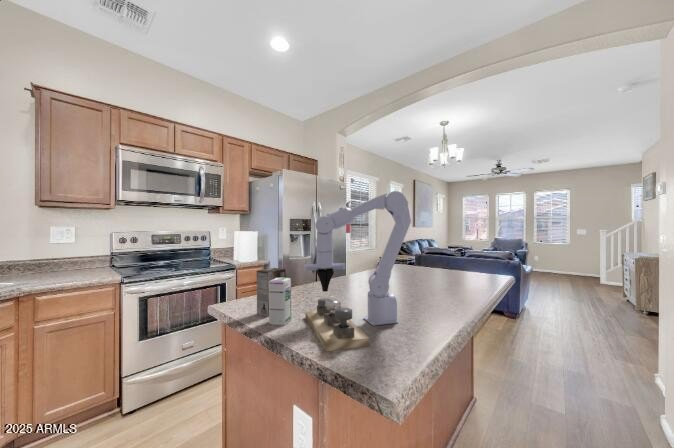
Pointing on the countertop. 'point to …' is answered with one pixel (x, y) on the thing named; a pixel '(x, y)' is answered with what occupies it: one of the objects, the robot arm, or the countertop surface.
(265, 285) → the coffee box
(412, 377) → the countertop surface
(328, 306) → the knob middle
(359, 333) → the mount board
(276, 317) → the syrup box
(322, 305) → the knob
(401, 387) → the countertop surface
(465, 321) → the countertop surface
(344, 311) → the knob
